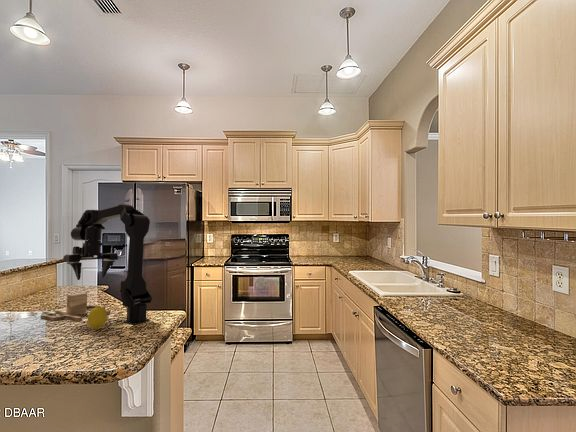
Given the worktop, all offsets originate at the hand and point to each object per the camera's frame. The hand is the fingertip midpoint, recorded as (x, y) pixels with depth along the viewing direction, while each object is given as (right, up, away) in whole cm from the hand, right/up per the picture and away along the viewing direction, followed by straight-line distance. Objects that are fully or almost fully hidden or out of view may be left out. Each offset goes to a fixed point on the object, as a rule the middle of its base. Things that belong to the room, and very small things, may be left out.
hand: (91, 278), depth 124 cm
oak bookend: (-8, -14, -1) cm, 16 cm away
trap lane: (-4, -14, -2) cm, 15 cm away
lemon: (+16, -13, -22) cm, 30 cm away
